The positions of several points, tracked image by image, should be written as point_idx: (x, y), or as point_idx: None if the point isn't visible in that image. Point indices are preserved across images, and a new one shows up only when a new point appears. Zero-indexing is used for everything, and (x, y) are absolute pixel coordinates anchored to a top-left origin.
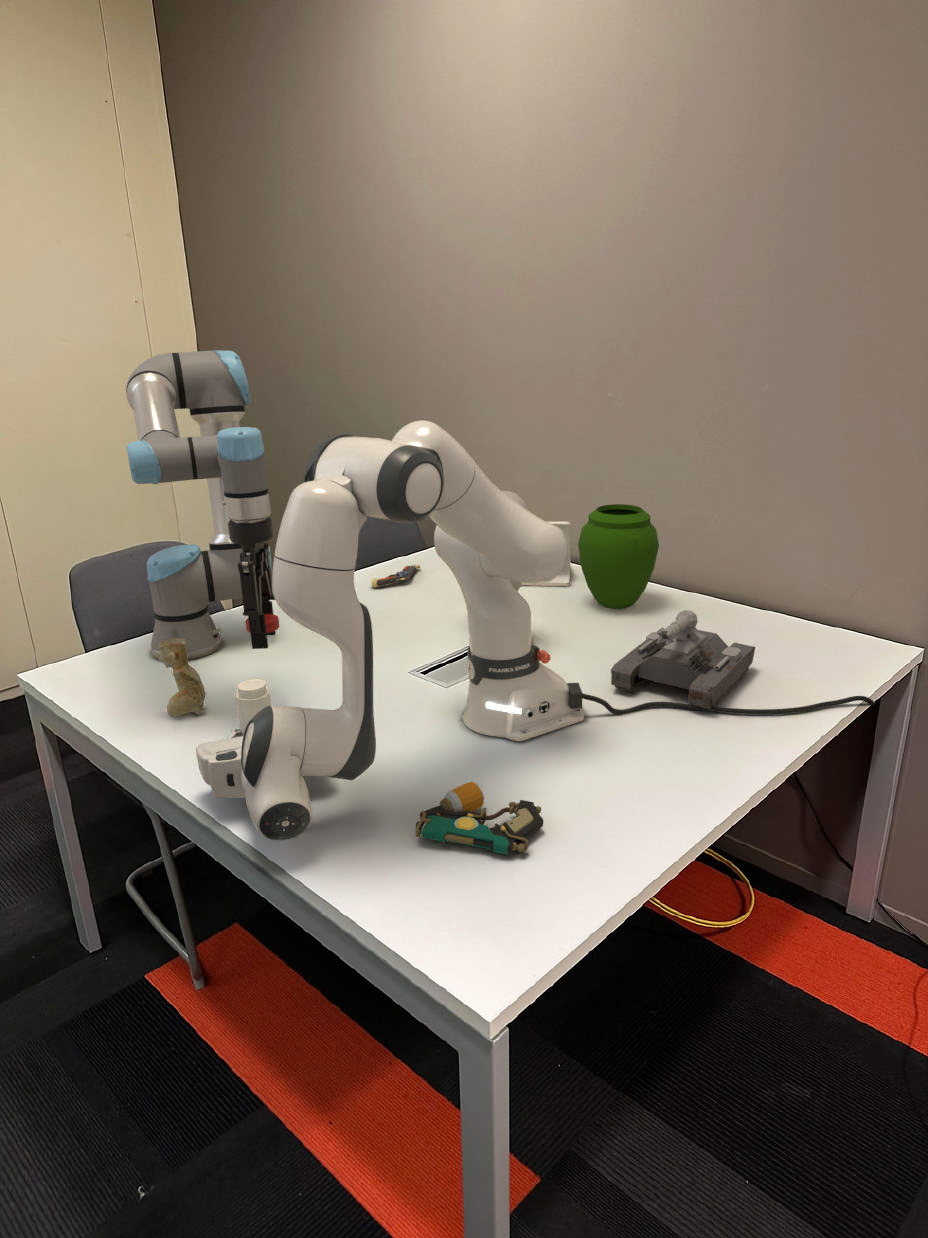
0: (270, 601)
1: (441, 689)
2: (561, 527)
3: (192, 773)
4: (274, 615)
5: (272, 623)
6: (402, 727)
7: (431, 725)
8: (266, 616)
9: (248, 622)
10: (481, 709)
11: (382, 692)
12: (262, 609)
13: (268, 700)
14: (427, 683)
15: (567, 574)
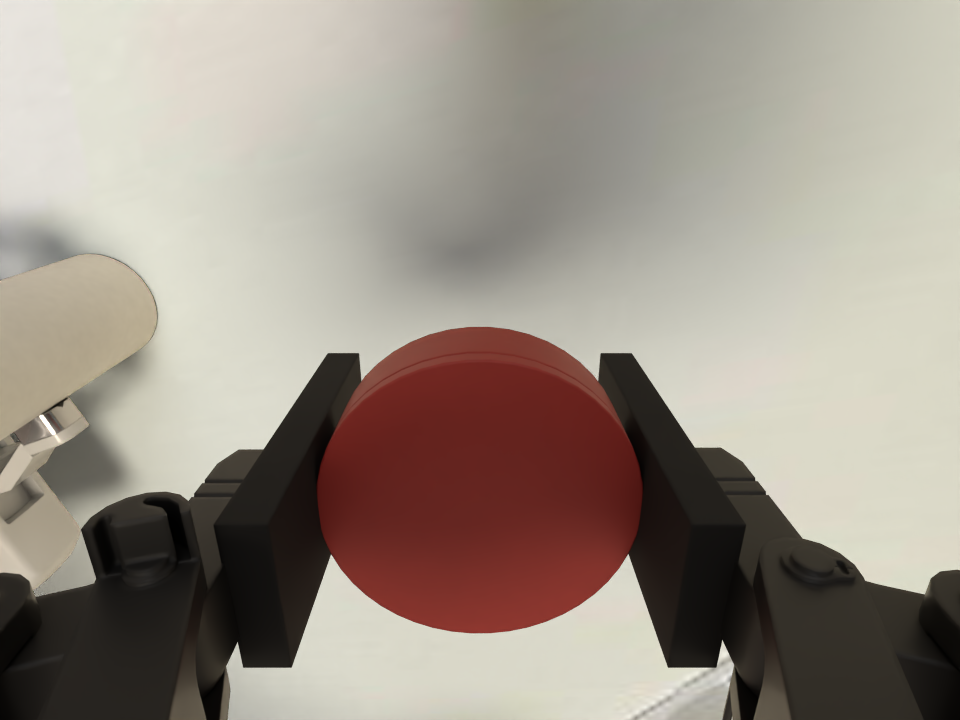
0: (708, 657)
1: (616, 715)
2: None
3: (7, 55)
4: (571, 595)
5: (388, 599)
6: (385, 641)
7: (397, 697)
8: (557, 535)
9: (386, 409)
10: None
11: (622, 584)
12: (656, 522)
13: None
14: (664, 686)
15: None
